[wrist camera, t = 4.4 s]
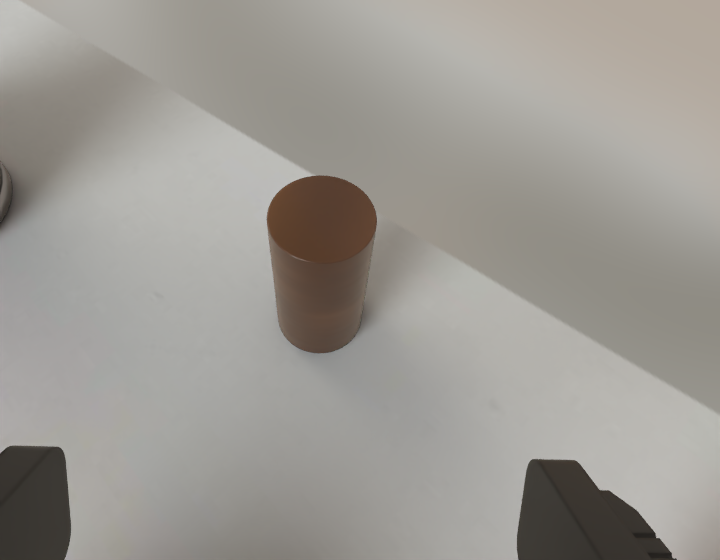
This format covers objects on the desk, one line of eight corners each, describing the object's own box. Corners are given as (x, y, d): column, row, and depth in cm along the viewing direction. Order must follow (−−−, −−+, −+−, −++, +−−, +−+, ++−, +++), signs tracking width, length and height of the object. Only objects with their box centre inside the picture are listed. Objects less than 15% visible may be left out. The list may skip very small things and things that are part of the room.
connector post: (268, 344, 30) (253, 251, 22) (289, 272, 32) (282, 166, 25) (352, 361, 30) (366, 273, 22) (367, 288, 32) (384, 185, 24)
